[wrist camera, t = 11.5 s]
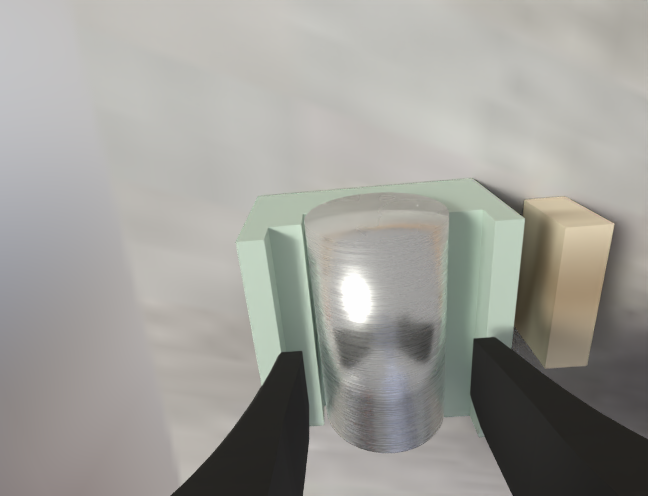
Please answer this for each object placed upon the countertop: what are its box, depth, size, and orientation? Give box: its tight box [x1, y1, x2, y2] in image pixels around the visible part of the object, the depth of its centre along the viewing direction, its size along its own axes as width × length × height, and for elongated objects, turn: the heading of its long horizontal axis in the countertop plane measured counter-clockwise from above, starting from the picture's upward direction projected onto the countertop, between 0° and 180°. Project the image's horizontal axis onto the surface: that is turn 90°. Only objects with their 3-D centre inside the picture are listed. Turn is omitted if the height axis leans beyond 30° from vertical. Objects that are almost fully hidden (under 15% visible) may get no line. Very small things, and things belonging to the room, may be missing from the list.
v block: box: [236, 178, 525, 437], centre depth 15 cm, size 8×8×4 cm
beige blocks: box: [514, 196, 614, 369], centre depth 16 cm, size 6×8×3 cm
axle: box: [304, 192, 449, 453], centre depth 13 cm, size 7×4×4 cm, turn 5°
